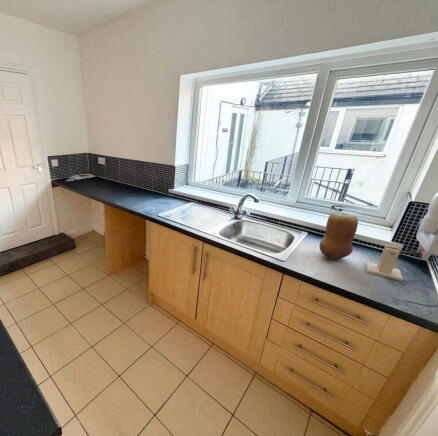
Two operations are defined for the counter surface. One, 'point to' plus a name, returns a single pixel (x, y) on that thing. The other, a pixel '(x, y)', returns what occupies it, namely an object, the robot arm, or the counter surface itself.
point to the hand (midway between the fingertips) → (422, 256)
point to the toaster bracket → (386, 264)
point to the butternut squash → (339, 235)
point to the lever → (410, 252)
